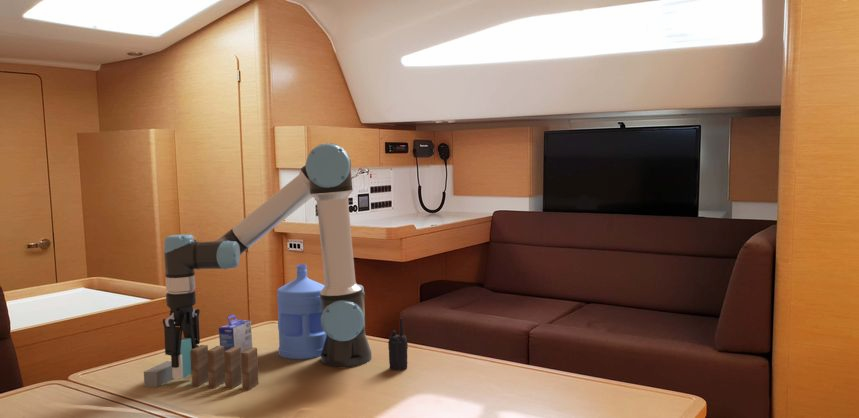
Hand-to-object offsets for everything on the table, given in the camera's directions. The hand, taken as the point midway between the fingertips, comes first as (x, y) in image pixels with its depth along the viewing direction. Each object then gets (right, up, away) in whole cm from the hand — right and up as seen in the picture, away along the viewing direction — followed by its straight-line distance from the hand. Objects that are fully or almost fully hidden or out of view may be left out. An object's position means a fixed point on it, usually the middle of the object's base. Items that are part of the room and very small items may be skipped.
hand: (184, 374), depth 181 cm
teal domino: (0, 0, 0) cm, 0 cm away
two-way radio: (+59, -1, +7) cm, 59 cm away
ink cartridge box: (+10, -1, +17) cm, 20 cm away
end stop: (-7, -2, +2) cm, 7 cm away
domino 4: (+20, -2, -5) cm, 20 cm away
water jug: (+28, 0, +26) cm, 38 cm away
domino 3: (+15, -2, -3) cm, 15 cm away
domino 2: (+10, -2, -2) cm, 10 cm away
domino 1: (+5, -2, -1) cm, 5 cm away
